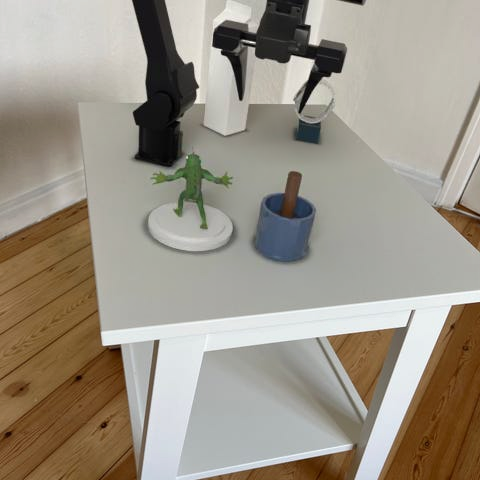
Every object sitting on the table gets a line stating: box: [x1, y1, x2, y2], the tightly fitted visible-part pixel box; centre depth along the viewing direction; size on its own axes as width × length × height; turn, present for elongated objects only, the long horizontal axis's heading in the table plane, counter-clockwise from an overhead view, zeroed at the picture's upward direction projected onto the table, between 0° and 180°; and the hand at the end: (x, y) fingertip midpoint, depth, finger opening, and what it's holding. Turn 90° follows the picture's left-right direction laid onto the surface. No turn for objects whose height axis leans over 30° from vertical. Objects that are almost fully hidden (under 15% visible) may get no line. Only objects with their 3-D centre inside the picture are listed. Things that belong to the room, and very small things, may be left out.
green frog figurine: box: [147, 146, 234, 252], centre depth 76 cm, size 12×12×10 cm
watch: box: [292, 78, 336, 144], centre depth 109 cm, size 6×8×11 cm
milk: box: [203, 0, 260, 137], centre depth 103 cm, size 6×6×22 cm
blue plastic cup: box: [254, 192, 317, 262], centre depth 77 cm, size 7×7×6 cm
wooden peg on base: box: [272, 170, 303, 219], centre depth 75 cm, size 4×4×10 cm
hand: (270, 106), depth 85 cm, fingers open, 9 cm apart
